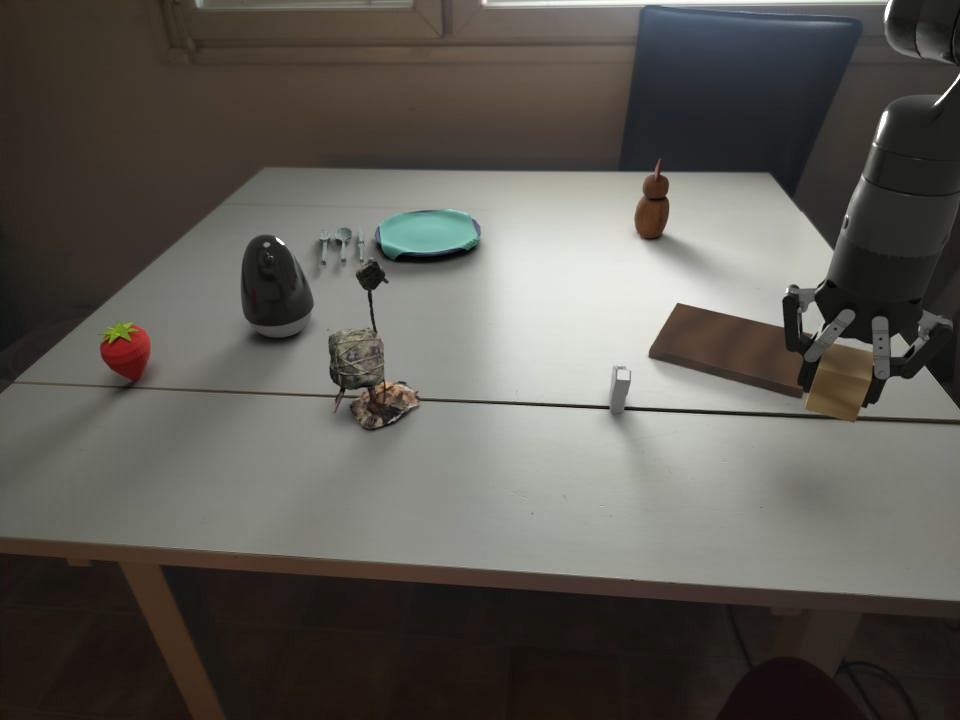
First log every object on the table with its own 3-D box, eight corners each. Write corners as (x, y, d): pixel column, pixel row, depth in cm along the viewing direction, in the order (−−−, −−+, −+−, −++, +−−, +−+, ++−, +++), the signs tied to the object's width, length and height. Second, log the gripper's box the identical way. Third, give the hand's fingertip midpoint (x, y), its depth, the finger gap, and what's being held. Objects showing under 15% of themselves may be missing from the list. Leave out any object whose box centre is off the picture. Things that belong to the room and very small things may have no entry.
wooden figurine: (658, 244, 122) (670, 163, 113) (628, 238, 124) (637, 158, 116) (669, 230, 127) (681, 152, 118) (640, 224, 129) (650, 147, 120)
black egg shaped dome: (253, 354, 96) (227, 258, 87) (245, 319, 104) (221, 228, 95) (323, 338, 99) (306, 244, 90) (311, 305, 106) (294, 216, 98)
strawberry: (166, 360, 95) (144, 300, 89) (155, 393, 89) (131, 329, 83) (122, 366, 94) (97, 305, 88) (108, 399, 88) (80, 335, 82)
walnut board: (815, 344, 95) (817, 335, 94) (800, 398, 85) (804, 389, 84) (675, 310, 103) (677, 302, 102) (648, 357, 93) (649, 348, 92)
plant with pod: (327, 400, 87) (300, 262, 75) (411, 381, 90) (397, 245, 78) (338, 440, 80) (310, 296, 69) (428, 418, 83) (416, 276, 72)
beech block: (858, 393, 66) (874, 352, 63) (854, 423, 62) (871, 380, 60) (811, 381, 68) (824, 340, 65) (804, 409, 64) (818, 367, 61)
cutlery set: (489, 258, 119) (489, 247, 117) (319, 274, 115) (316, 262, 114) (472, 214, 135) (472, 204, 133) (321, 227, 131) (320, 216, 130)
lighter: (609, 391, 87) (615, 341, 82) (623, 392, 87) (629, 342, 82) (609, 427, 81) (616, 375, 77) (624, 428, 81) (631, 376, 76)
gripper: (992, 231, 55) (918, 394, 64) (805, 202, 60) (763, 356, 70) (999, 270, 49) (917, 441, 59) (793, 234, 55) (749, 396, 65)
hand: (834, 394), depth 65 cm, fingers closed on beech block, 4 cm apart
